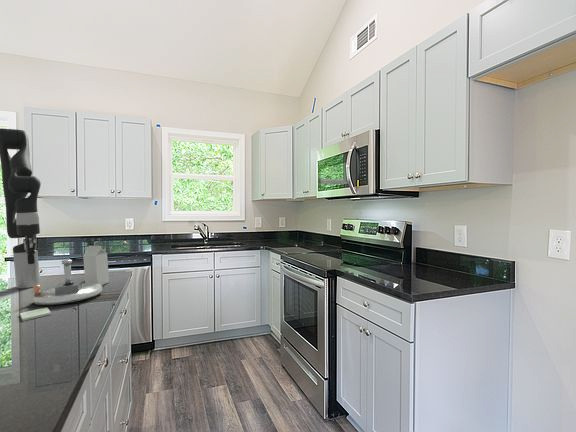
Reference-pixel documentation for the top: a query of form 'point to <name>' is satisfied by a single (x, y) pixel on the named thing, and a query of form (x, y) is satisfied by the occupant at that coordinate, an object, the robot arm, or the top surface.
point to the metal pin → (67, 271)
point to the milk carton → (96, 265)
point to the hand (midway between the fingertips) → (31, 263)
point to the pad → (35, 314)
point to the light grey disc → (66, 293)
